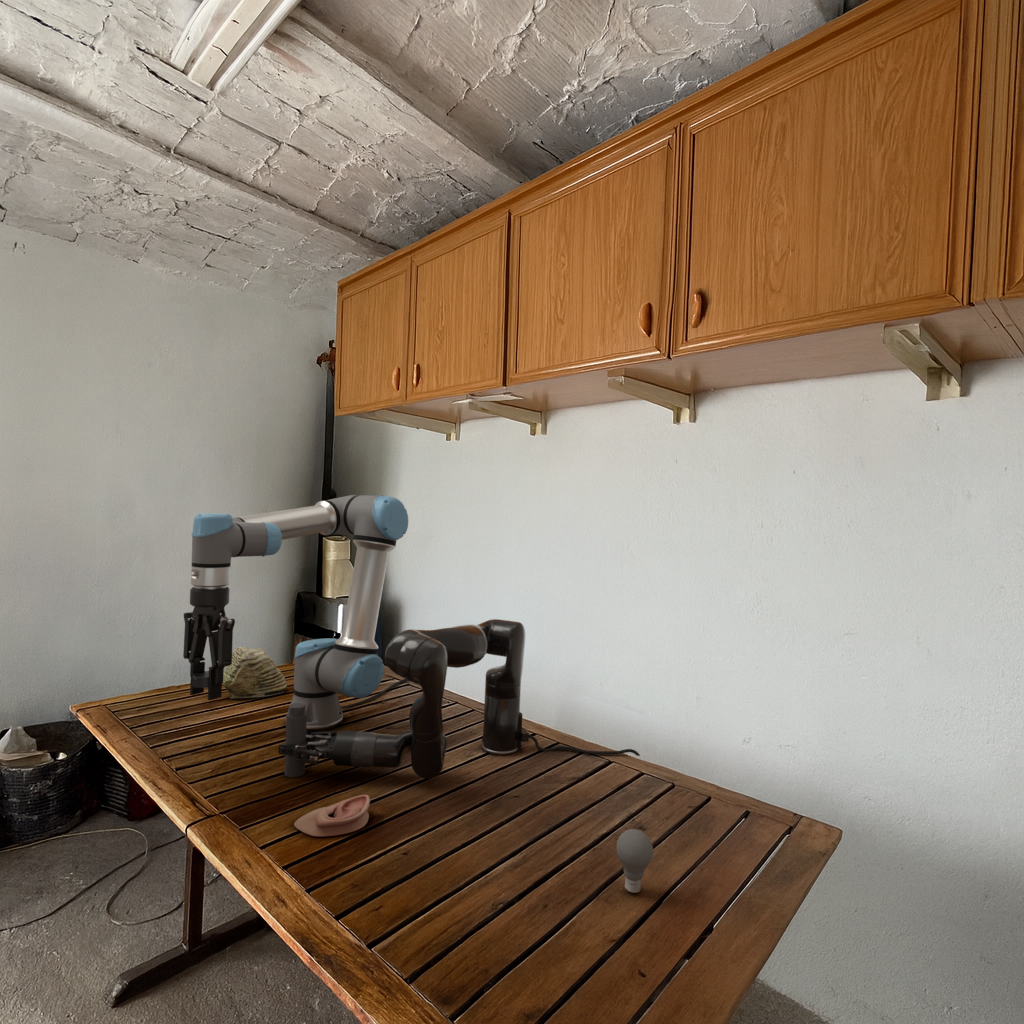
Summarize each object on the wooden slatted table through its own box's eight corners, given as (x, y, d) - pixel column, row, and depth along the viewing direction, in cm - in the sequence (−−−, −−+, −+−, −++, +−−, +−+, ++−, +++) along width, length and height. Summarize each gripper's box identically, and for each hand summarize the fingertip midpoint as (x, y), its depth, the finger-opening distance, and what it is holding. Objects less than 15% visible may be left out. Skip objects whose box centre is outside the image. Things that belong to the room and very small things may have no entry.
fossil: (218, 695, 195) (220, 647, 195) (278, 685, 208) (279, 640, 207) (228, 703, 189) (230, 653, 188) (289, 692, 201) (290, 645, 201)
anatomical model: (285, 811, 119) (316, 784, 130) (285, 832, 119) (316, 803, 130) (351, 821, 116) (377, 793, 127) (350, 842, 116) (376, 813, 128)
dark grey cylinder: (281, 776, 142) (283, 708, 142) (288, 768, 147) (291, 701, 146) (300, 777, 142) (303, 709, 142) (307, 769, 147) (310, 702, 146)
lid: (221, 680, 137) (221, 670, 137) (217, 687, 132) (217, 677, 132) (195, 681, 136) (195, 671, 136) (189, 688, 131) (190, 677, 131)
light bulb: (610, 879, 108) (613, 822, 108) (644, 879, 109) (647, 822, 109) (619, 902, 102) (622, 840, 102) (655, 901, 103) (658, 840, 103)
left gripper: (166, 583, 135) (162, 692, 135) (223, 592, 126) (218, 708, 126) (198, 580, 141) (194, 684, 142) (254, 589, 133) (249, 699, 133)
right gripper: (366, 721, 151) (296, 717, 151) (349, 744, 137) (271, 740, 137) (365, 752, 151) (295, 748, 152) (347, 779, 137) (269, 774, 137)
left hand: (205, 695), depth 134 cm, fingers closed on lid, 5 cm apart
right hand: (284, 744), depth 144 cm, fingers closed on dark grey cylinder, 4 cm apart
